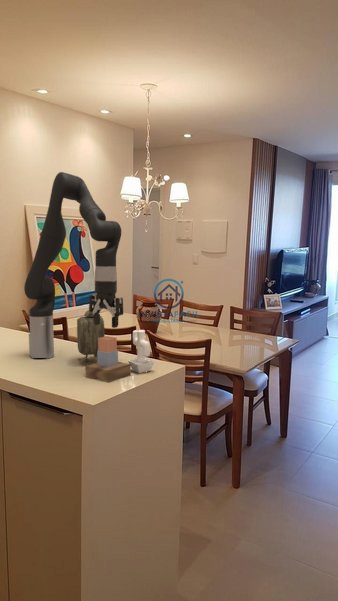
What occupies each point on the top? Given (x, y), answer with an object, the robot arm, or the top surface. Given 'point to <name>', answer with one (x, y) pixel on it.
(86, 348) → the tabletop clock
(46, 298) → the robot arm
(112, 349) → the terracotta block
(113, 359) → the blue block
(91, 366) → the plinth
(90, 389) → the top surface
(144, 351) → the figurine
